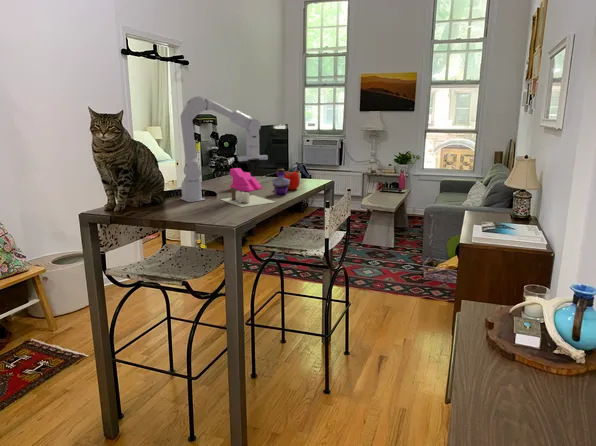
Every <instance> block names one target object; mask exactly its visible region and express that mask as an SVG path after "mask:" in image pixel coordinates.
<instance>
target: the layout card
mask: <svg viewBox="0 0 596 446" xmlns="http://www.w3.org/2000/svg"><path fill="white" fill-rule="evenodd" d="M219 200H220V201H223V202H226V203H229V204H232V205H235V206H237V207H240V208H247V207H252V206H253V207H254V206H262V205H268V203H269V204H275V202H276V201H275V200H271V199H267V198H264V197H261V196H258V195H253V194H252V195H250V194H249V203H245V202H242V204H238V201H237V200H232V197H227V198H220V199H219Z"/></svg>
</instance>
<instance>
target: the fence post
mask: <svg viewBox="0 0 596 446" xmlns="http://www.w3.org/2000/svg"><path fill="white" fill-rule="evenodd" d="M230 191H231V198H232V200H236V191H237V190H236V188H234V187H233V188H231V187H230Z"/></svg>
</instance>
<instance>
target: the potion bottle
mask: <svg viewBox="0 0 596 446" xmlns="http://www.w3.org/2000/svg"><path fill="white" fill-rule="evenodd" d="M286 172H287V171H285V169H284V168H277V170H276V172H275V175H276V176H277V177H276V178H273V179H271V183H272V186H273V189H274V192H275V193H274V194H275V195H276V194H277V195H276V196H286V195H287V192H288V190H287V189H288V188H289V183H290V180H289V179H286V178H284V175H286ZM285 194H286V195H285Z"/></svg>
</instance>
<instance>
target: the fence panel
mask: <svg viewBox="0 0 596 446" xmlns="http://www.w3.org/2000/svg"><path fill="white" fill-rule="evenodd" d="M249 196H250V192H245V191H240V190H236V200H237V201H238V198H239V197H241V198H242V202H245V203H249Z"/></svg>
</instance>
